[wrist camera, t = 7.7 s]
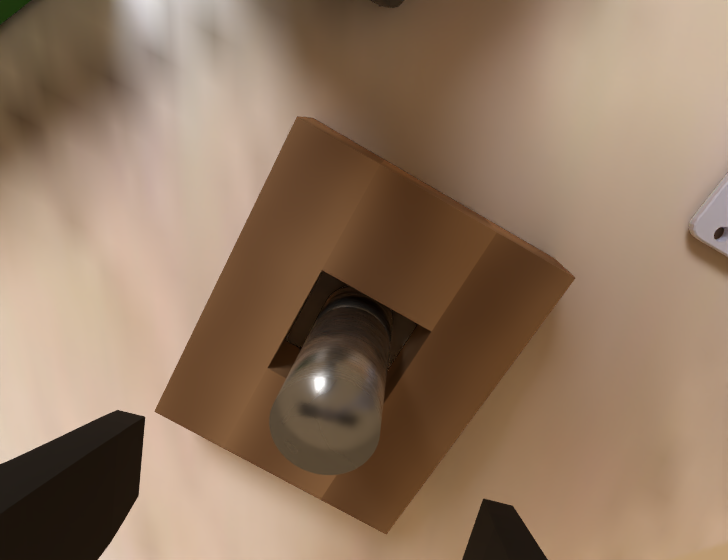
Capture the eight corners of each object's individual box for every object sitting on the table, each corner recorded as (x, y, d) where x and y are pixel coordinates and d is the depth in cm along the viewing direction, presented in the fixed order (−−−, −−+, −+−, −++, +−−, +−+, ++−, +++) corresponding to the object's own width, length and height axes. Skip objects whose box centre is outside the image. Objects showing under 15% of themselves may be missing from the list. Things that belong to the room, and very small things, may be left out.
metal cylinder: (380, 360, 20) (362, 488, 13) (313, 339, 20) (257, 455, 13) (402, 297, 19) (394, 396, 12) (332, 275, 19) (283, 362, 12)
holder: (554, 258, 18) (575, 277, 16) (389, 490, 22) (386, 534, 19) (312, 118, 18) (297, 116, 15) (183, 379, 21) (154, 411, 19)
